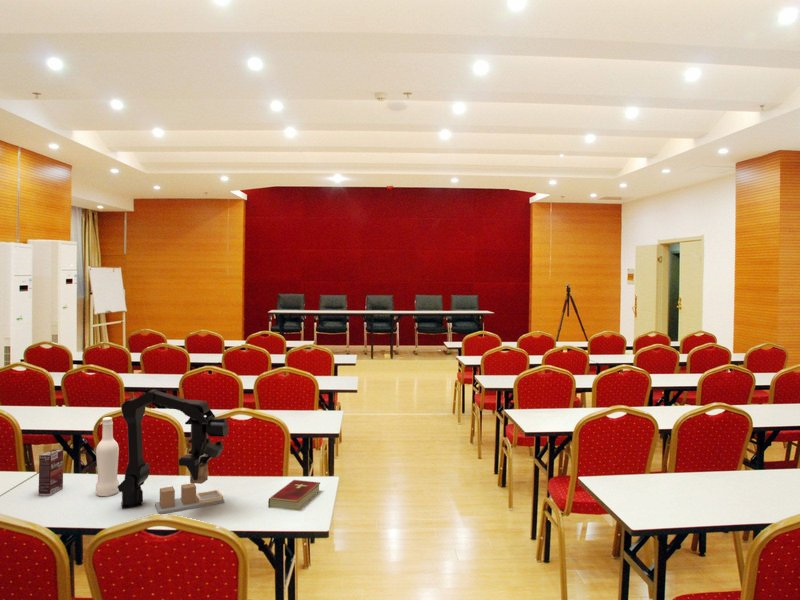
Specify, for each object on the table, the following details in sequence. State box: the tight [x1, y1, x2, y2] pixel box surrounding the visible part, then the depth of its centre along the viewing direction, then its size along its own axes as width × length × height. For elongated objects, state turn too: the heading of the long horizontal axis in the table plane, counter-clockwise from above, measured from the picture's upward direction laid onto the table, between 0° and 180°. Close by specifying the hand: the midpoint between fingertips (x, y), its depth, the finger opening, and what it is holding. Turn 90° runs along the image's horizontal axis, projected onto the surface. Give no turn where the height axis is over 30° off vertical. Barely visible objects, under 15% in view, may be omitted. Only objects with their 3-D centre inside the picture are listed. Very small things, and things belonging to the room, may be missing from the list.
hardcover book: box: [267, 479, 321, 511], centre depth 216 cm, size 12×21×4 cm, turn 165°
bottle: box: [95, 416, 120, 497], centre depth 219 cm, size 8×8×30 cm
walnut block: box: [189, 463, 209, 485], centre depth 206 cm, size 4×4×6 cm
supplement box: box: [38, 448, 64, 497], centre depth 220 cm, size 9×5×16 cm, turn 0°
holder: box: [154, 482, 225, 515], centre depth 209 cm, size 23×10×7 cm, turn 121°
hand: (198, 477), depth 206 cm, fingers closed on walnut block, 4 cm apart
